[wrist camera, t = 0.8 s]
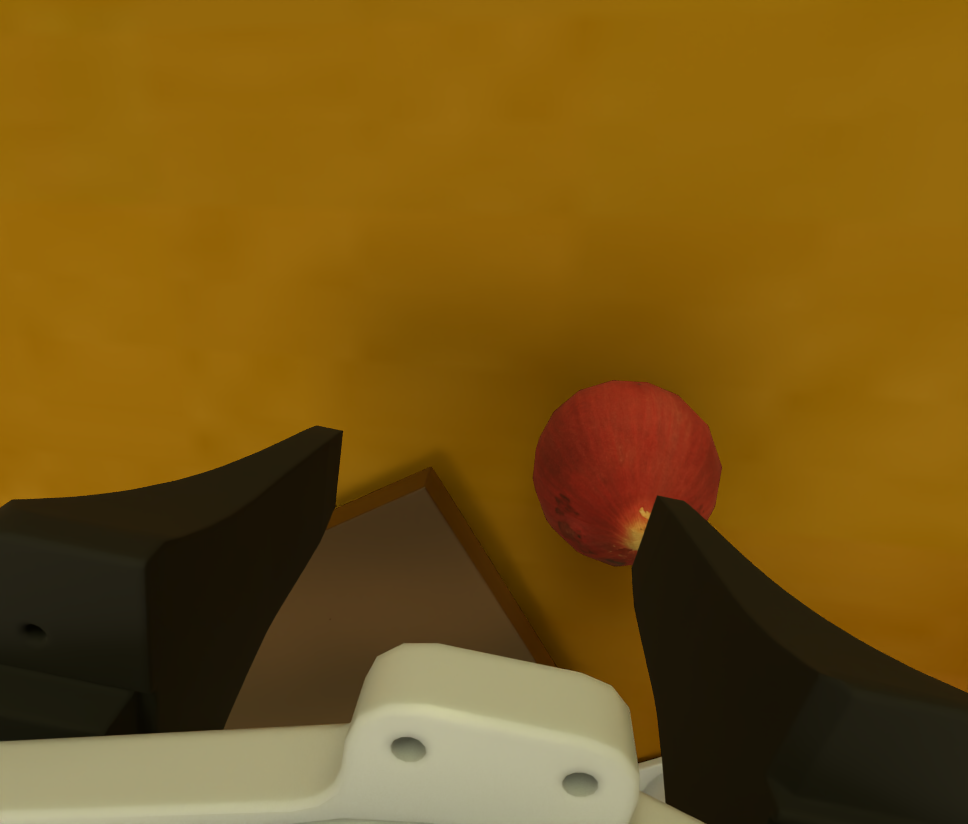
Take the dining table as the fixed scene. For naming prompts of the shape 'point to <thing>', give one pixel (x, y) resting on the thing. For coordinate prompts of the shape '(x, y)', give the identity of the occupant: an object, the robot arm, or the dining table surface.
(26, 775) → the robot arm
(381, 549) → the platform
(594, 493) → the onion
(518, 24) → the dining table surface
